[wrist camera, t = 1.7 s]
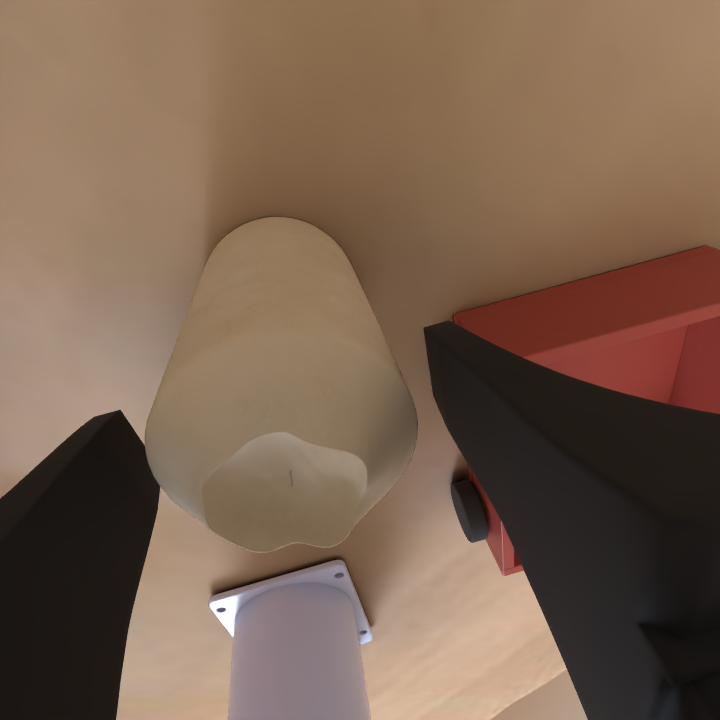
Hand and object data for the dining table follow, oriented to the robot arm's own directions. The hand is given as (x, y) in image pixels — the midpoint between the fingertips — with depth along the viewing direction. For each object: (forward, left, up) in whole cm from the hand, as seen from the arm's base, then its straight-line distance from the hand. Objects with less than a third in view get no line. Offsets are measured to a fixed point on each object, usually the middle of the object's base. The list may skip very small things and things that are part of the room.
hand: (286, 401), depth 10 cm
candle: (0, 0, -7) cm, 7 cm away
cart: (-10, -12, -7) cm, 17 cm away
